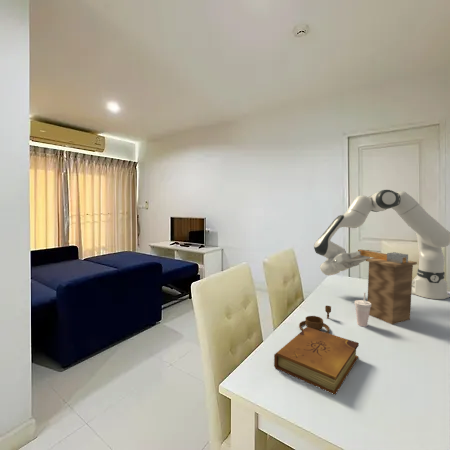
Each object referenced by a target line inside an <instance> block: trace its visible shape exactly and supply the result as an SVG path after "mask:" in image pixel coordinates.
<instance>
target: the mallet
mask: <svg viewBox="0 0 450 450" xmlns="http://www.w3.org/2000/svg"><path fill="white" fill-rule="evenodd" d="M367 250H368V249H366V250H365V249H357V251H361V253H362V254H361V255H362V256H367V257H370V258H377V259H382V260H387V261H389V262H394V263H399V264H402V263H408V261H409V254H408V253H402V252H401V253H400V252H387V253H383V252H377V251H372V250H369V251H367Z"/></svg>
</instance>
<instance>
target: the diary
mask: <svg viewBox="0 0 450 450" xmlns="http://www.w3.org/2000/svg"><path fill="white" fill-rule="evenodd" d="M303 329H304V330H303V331H301V332H299V333H298V334H297V335H295V336H294V337H293V338H292V339H290V340H289V342H287V343H286V344H285V345H283V347H281V348H280V349H279V350H278V351H277V352H276V353H274V354H273V358H274V359H273V361H274V362H273V367H274V368H275V369H277V370H278V371H280V372H283V373H285V374H288V375H290V376H292V377H294V378H296V379H299V380H300V381H303V382H305V383H308V384H310V385H312V386H314V387H316V386H317V388H318V387H320V388H319V389H321V390H323V389H324V390H323V391H325V390H326V391H325V392H327V391H329V392H328V393H330V394H332V393H333V394H332V395H334V394H336V395H337V393H338V391H339V390H340V388H341V387H342V385H343V383H344V382H345V380H346V378H347V377H348V375H349V374H350V371H351V370H352V368H353V367H354V366H355V364H356V362H357V360H358V358H359V356H358V355H357V349H358V347H359V342H357V341H354V340H351V339H347V338H344V337H341V336H337V335H335V334H332V333H330V332H329V333H325V332H326V331H321V330H316V329H312V328H309V327H307V326H306V327H305V328H303ZM346 376H347V377H346ZM343 381H344V382H343ZM341 384H342V385H341ZM338 389H339V390H338ZM336 392H337V393H336Z"/></svg>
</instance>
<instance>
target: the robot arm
mask: <svg viewBox="0 0 450 450" xmlns="http://www.w3.org/2000/svg"><path fill="white" fill-rule="evenodd" d="M389 209H393V210H394V211H395V212H396V214H397V215H398V216H399V218H401V219H402V220H403V221H404V223H406V225H407V226H408V227H410V228H411V229H412V230H413V231H414V232H415V237H416V240H417V247H418V248H417V249H418V268H417V271H416V275H415V277H414V278H412V290H411V295H416V296H419V297H422V298H427V299H432V300H444V299H447V298H448V299H449V297H450V294H448V282H447V281H446V280H445V277H446V275H445V274H446V273H445V270H444V269H445V256H444V254H443V249H442V248H446V247H448V246H450V231H449V230H448V229H446V227H444V226H443V225H442V224H441V223H440V222H439V221H437V220H436V219H435V218H434V217H433V216H431V214H429V213H428V212H427V211H426V210H425V209H424V208H423V206H422V205H421V204H420V203H419V202H418V201H417V200H416V199H415V198H414V197H412V195H410V194H409V193H408V192H406V191H403V190H402V191H401V190H400V191H393V190H391V189H382V190H380V191H376V192H375V193H374V194H371V195H370V196H366V195H358V196H356V197H355V198H354V199H353V201H352V202H351V203H350V205H349V206H348V209H347V210H346V211H345V212H344V213H343V214H340V215H337V217H336V218H334V219H333V221H332V222H331V223H330V225H329V226H328V228H326V230H325V231H324V232H323V233H322V235H320V236H319V238H318V239H317V240H315V242H314V245H313V250H314V252H315V254H317V255H320V256H322V257H324V258H326V260H324V261H323V262H322V263H321V264H320V266H319V269H320V271H321V272H322V274H324V275H325V276H334V275H336V274H339V273H340V272H344V271H346V270H348V269H349V270H350V269H351V268H353V267H356V266H359V265H360V264H361V263H363V262H366V259H369V258H371V257H367V256H362V255H361V254H362V253H361V251H358V250H357V251H355V252H347V251H346V248H344V247H342V246H340V244H337V243H335V242H333V241H331V239H332V238H333V236H334V235H335V234H336V233H337V232H338V231H339V229H340V228H351V229H356V228H360V227H361V226H363V224H364V223H365V222H366V220H367V218H368V216H369V215H370V213H371V212H376V213H377V212H384V211H386V210H389ZM366 250H367V251H370V250H369V249H366Z"/></svg>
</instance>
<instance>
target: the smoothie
mask: <svg viewBox="0 0 450 450" xmlns="http://www.w3.org/2000/svg"><path fill="white" fill-rule="evenodd" d="M354 305H355V312H356V313H355V314H356V323H357V325H358V326H360V327H365V328H366V327H367V326H368V322H369V318H370V315H369V312H370V307H371V303H370V302H368V300H366V292H365V291H364V292H363V299H356V300H354Z"/></svg>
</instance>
